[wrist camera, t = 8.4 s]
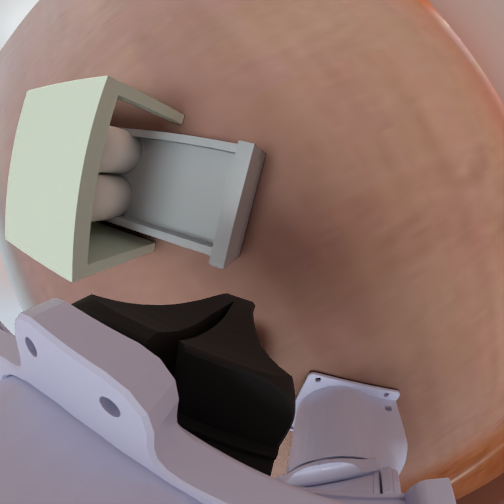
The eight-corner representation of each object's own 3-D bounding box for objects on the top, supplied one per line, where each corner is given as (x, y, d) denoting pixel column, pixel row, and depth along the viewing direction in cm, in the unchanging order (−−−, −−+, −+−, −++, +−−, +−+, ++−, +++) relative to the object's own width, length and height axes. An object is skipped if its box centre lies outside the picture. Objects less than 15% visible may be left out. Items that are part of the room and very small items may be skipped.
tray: (265, 153, 19) (247, 137, 14) (239, 256, 21) (213, 276, 16) (112, 129, 22) (70, 119, 16) (96, 210, 24) (53, 216, 18)
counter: (184, 115, 20) (107, 75, 11) (154, 251, 23) (72, 282, 14) (102, 110, 22) (27, 90, 12) (80, 223, 25) (5, 238, 15)
